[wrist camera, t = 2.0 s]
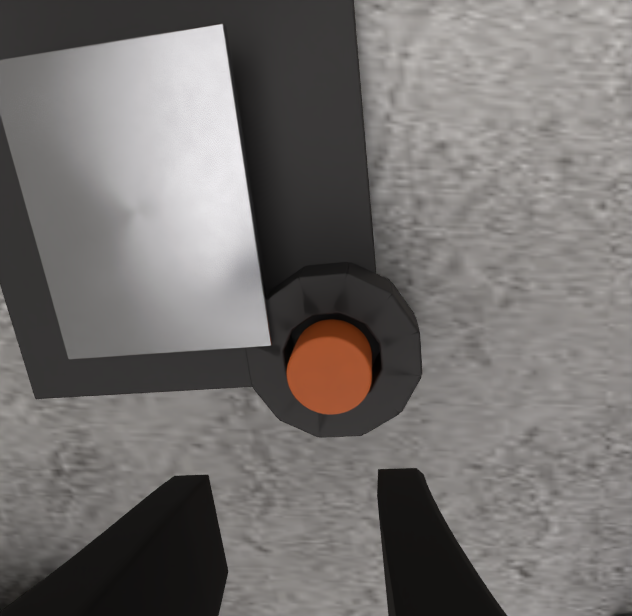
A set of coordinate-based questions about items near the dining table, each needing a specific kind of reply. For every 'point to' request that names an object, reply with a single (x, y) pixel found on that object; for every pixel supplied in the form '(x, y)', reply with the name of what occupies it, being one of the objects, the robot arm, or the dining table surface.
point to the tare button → (330, 367)
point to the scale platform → (139, 193)
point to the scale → (268, 202)
